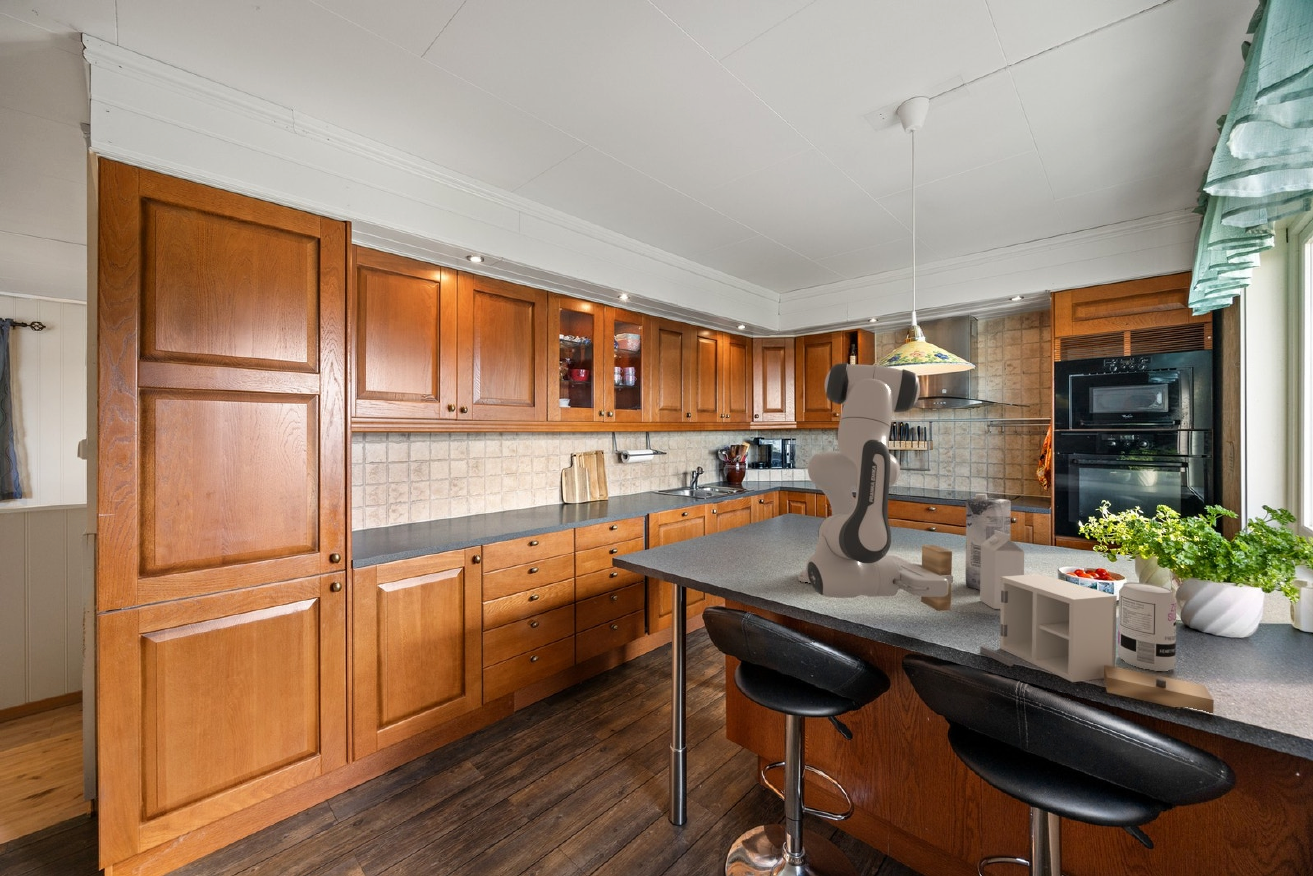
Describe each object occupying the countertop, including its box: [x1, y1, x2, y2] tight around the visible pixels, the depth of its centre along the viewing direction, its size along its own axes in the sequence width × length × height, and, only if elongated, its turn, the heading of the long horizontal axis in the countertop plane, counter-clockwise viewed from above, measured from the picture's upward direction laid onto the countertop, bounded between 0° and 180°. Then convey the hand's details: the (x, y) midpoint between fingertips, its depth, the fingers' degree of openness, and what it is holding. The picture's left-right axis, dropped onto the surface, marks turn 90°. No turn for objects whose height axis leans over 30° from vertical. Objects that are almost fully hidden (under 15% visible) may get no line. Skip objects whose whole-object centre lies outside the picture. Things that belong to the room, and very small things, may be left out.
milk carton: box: [979, 530, 1025, 610], centre depth 138 cm, size 7×7×19 cm
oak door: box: [920, 544, 953, 612], centre depth 119 cm, size 4×6×13 cm, turn 7°
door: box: [1103, 665, 1215, 714], centre depth 91 cm, size 13×6×4 cm, turn 54°
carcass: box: [979, 573, 1118, 683], centre depth 104 cm, size 16×15×15 cm
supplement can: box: [1117, 581, 1178, 671], centre depth 104 cm, size 8×8×15 cm
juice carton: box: [964, 493, 1012, 591], centre depth 153 cm, size 9×10×27 cm
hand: (939, 573), depth 119 cm, fingers closed on oak door, 6 cm apart
